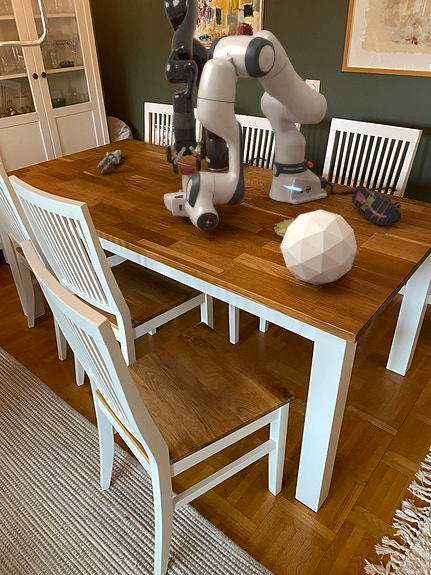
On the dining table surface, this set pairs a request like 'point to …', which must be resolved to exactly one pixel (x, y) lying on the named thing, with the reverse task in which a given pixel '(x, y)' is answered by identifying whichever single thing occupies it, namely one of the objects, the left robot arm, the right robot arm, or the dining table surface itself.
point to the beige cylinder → (185, 181)
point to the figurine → (110, 160)
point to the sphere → (319, 247)
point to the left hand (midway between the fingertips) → (187, 172)
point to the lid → (187, 170)
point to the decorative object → (283, 227)
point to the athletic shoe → (376, 206)
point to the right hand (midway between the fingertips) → (188, 190)
